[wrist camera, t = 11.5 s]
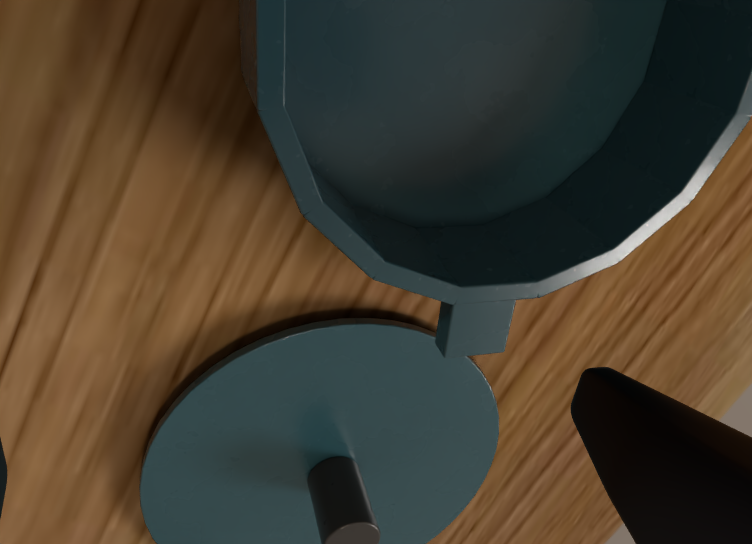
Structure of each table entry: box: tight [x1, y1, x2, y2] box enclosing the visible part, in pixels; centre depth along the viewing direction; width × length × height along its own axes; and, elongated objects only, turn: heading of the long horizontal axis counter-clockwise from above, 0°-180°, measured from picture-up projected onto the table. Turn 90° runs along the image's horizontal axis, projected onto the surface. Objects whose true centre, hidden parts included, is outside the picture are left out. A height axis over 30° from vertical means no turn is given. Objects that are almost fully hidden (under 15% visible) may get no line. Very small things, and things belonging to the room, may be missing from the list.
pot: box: [239, 0, 752, 358], centre depth 18 cm, size 15×21×5 cm
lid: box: [139, 318, 499, 544], centre depth 26 cm, size 16×16×5 cm
